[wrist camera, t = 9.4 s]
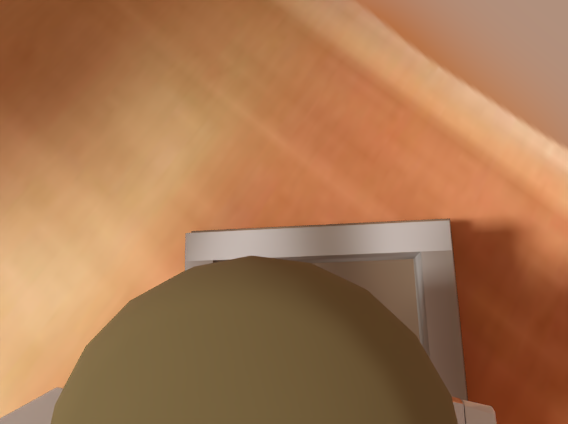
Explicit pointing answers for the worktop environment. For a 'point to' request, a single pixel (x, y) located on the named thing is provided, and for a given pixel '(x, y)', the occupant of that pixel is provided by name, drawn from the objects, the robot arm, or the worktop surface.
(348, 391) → the cork
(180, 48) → the worktop surface
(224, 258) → the socket mount
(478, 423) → the robot arm
